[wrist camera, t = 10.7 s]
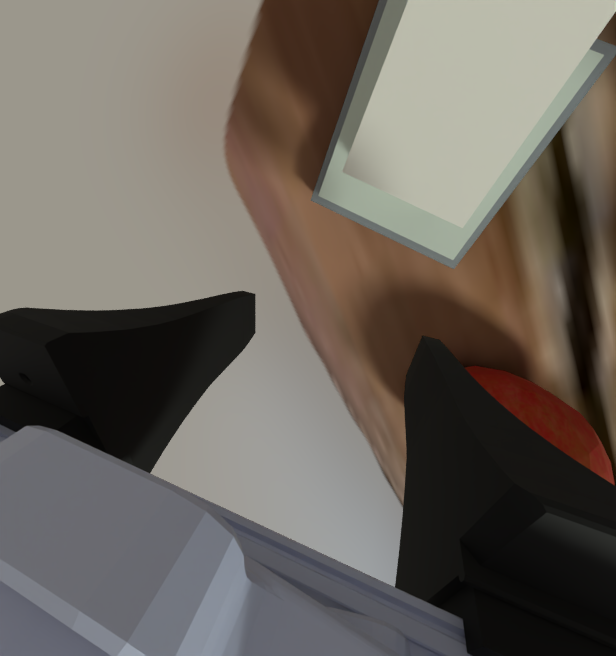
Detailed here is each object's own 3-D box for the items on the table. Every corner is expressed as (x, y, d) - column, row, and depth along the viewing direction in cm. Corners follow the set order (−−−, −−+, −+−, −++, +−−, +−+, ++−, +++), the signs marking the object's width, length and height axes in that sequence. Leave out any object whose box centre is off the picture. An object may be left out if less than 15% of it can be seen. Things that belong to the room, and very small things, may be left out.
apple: (596, 373, 18) (781, 556, 9) (513, 461, 24) (578, 627, 15) (435, 332, 20) (458, 448, 11) (394, 422, 26) (389, 545, 17)
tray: (590, 66, 12) (629, 42, 10) (449, 261, 17) (455, 271, 15) (394, -12, 13) (392, -50, 11) (319, 198, 18) (308, 200, 16)
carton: (506, 92, 11) (646, -32, 5) (436, 206, 14) (462, 227, 8) (424, 57, 12) (448, -105, 5) (371, 176, 14) (342, 172, 8)
